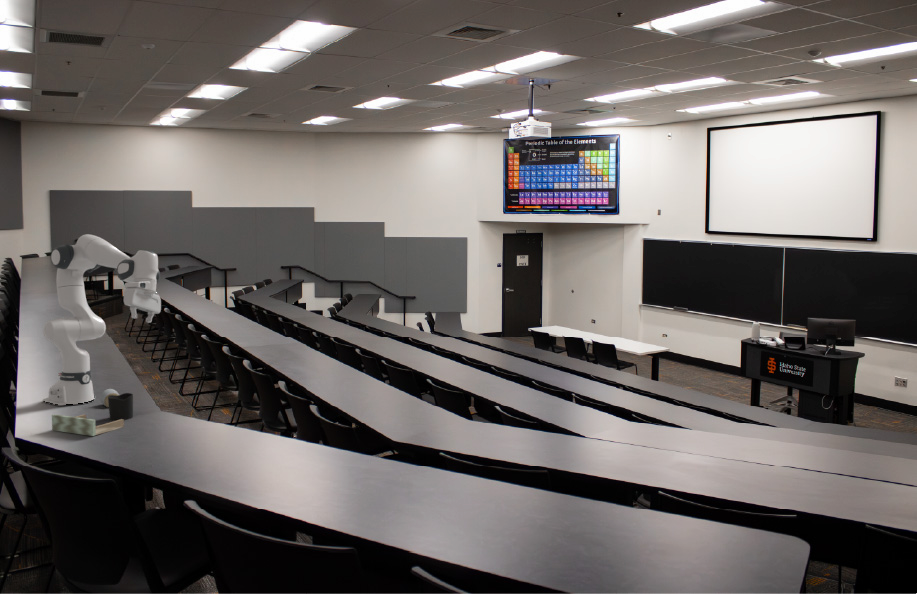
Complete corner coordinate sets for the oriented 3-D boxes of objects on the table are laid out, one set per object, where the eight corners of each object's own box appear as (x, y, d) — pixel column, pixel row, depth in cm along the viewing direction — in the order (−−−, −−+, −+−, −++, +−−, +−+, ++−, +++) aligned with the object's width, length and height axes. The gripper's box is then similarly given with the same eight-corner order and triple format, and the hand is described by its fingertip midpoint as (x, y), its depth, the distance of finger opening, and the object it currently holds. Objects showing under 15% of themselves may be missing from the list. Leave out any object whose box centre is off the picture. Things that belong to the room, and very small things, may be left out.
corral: (52, 430, 270) (51, 415, 270) (84, 421, 284) (83, 407, 284) (93, 435, 263) (92, 420, 263) (123, 426, 277) (123, 412, 276)
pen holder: (127, 422, 284) (125, 398, 283) (104, 422, 284) (103, 398, 283) (138, 416, 293) (137, 393, 292) (116, 415, 294) (115, 392, 293)
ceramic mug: (104, 410, 305) (104, 393, 304) (100, 406, 311) (99, 389, 310) (130, 406, 312) (129, 390, 311) (125, 403, 318) (125, 386, 317)
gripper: (152, 293, 298) (150, 325, 295) (122, 282, 278) (118, 316, 275) (166, 292, 297) (163, 324, 294) (136, 281, 277) (133, 315, 274)
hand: (141, 320), depth 284 cm, fingers open, 8 cm apart
